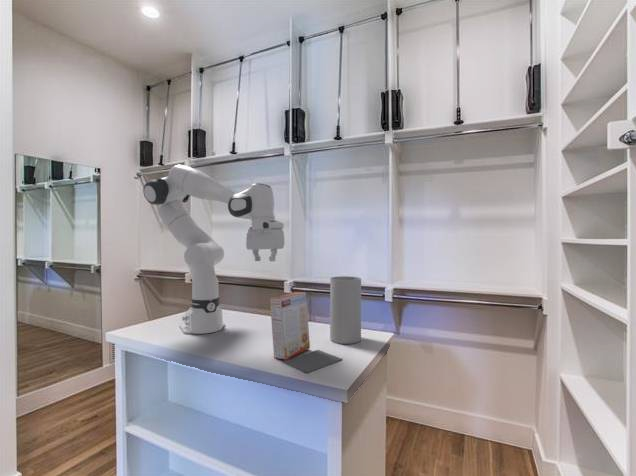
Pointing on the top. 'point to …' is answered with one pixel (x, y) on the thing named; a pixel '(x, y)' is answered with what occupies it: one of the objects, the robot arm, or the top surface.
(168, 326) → the top surface
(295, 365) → the mat
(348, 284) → the cylinder vase
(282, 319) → the cracker box
